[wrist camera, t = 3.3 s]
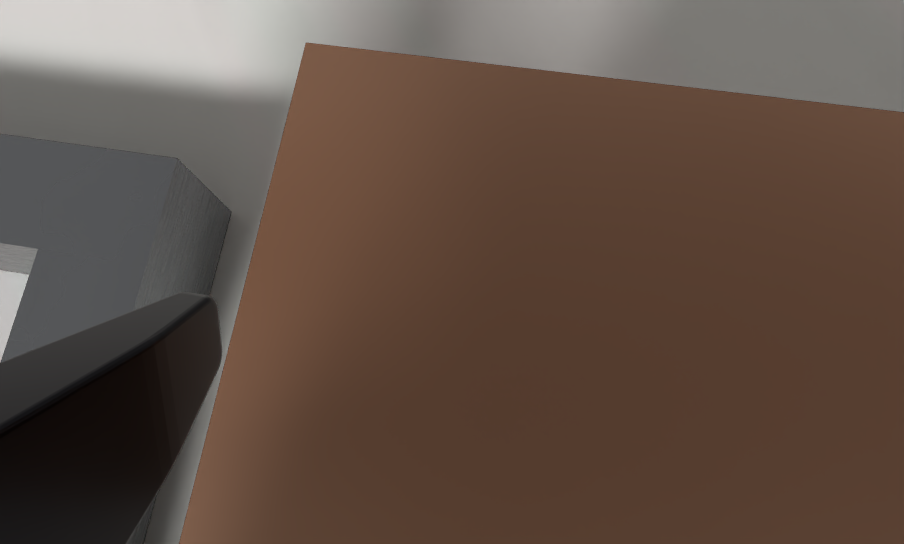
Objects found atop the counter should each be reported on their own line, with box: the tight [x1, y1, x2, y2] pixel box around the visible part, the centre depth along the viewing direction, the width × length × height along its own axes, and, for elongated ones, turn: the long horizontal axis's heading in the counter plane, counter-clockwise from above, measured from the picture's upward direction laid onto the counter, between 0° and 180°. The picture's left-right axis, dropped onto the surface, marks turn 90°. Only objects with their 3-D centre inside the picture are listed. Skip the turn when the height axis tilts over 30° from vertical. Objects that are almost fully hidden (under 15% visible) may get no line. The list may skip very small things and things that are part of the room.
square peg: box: [179, 43, 904, 544], centre depth 10 cm, size 4×4×12 cm
